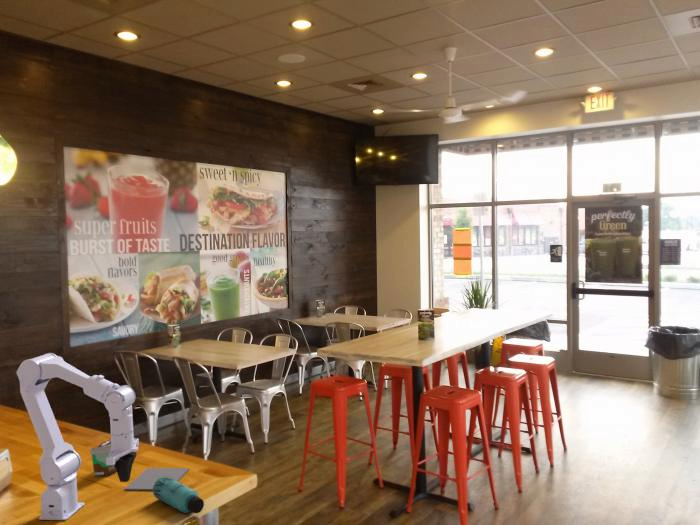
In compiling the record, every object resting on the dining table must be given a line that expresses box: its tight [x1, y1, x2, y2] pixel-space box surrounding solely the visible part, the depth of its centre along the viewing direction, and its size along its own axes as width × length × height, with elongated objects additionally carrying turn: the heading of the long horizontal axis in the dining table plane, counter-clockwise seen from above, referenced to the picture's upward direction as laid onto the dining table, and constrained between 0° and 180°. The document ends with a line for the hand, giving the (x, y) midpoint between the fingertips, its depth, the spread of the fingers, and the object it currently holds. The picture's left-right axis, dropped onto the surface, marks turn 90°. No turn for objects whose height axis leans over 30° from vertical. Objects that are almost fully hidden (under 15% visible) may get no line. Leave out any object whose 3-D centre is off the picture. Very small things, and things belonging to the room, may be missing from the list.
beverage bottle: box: [152, 476, 205, 514], centre depth 166 cm, size 6×7×20 cm
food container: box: [89, 438, 117, 478], centre depth 192 cm, size 12×6×10 cm, turn 168°
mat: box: [124, 467, 190, 491], centre depth 185 cm, size 16×14×1 cm
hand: (124, 480), depth 162 cm, fingers closed
